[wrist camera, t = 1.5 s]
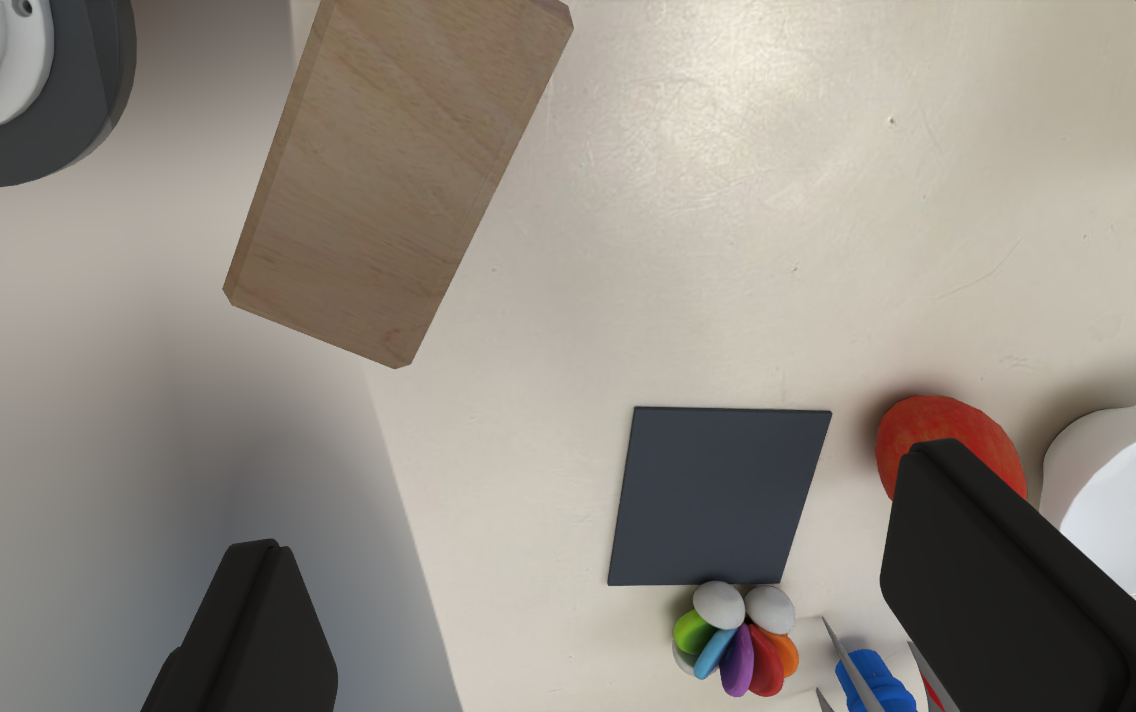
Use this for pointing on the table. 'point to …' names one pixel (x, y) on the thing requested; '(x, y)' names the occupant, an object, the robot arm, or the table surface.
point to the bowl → (1096, 490)
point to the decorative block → (389, 163)
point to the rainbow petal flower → (738, 638)
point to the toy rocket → (882, 683)
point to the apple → (945, 420)
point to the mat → (713, 494)
